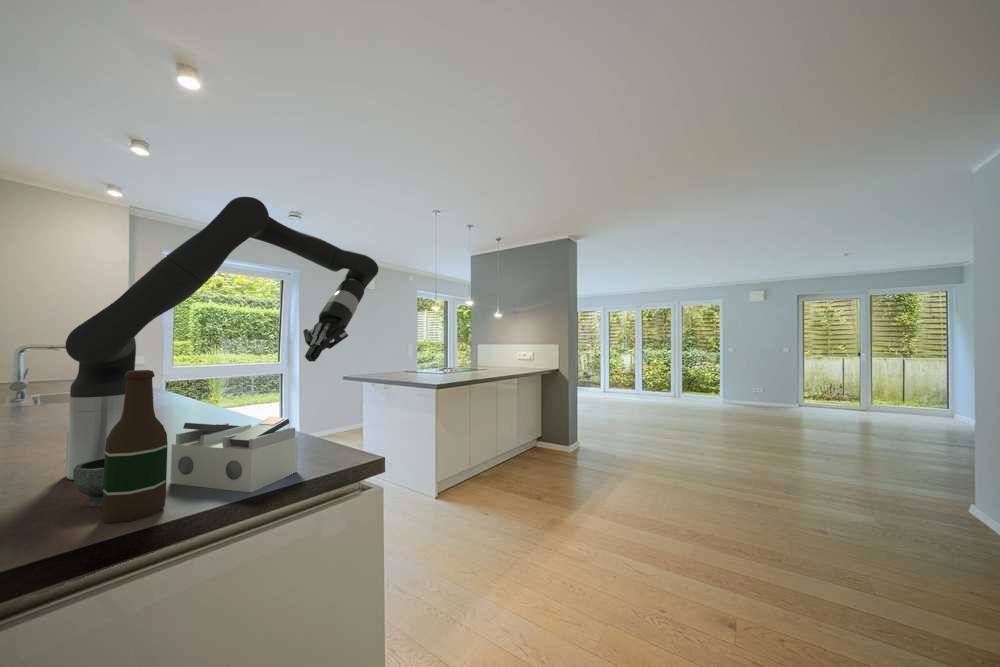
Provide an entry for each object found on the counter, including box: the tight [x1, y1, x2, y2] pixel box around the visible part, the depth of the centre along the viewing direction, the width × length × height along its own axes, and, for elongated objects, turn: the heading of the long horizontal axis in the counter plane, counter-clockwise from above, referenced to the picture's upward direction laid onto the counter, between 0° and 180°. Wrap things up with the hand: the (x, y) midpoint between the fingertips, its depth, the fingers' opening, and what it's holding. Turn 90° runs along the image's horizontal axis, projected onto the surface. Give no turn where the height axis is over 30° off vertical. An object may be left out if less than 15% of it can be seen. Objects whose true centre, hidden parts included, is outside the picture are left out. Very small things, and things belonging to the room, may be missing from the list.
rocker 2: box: [230, 416, 290, 446], centre depth 80 cm, size 5×10×1 cm, turn 167°
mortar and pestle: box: [73, 458, 104, 508], centre depth 70 cm, size 11×9×12 cm
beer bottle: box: [102, 369, 169, 524], centre depth 64 cm, size 8×8×24 cm
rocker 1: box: [183, 422, 242, 431], centre depth 82 cm, size 5×10×1 cm, turn 167°
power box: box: [170, 422, 299, 493], centre depth 81 cm, size 20×12×10 cm, turn 77°
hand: (309, 359), depth 94 cm, fingers closed
